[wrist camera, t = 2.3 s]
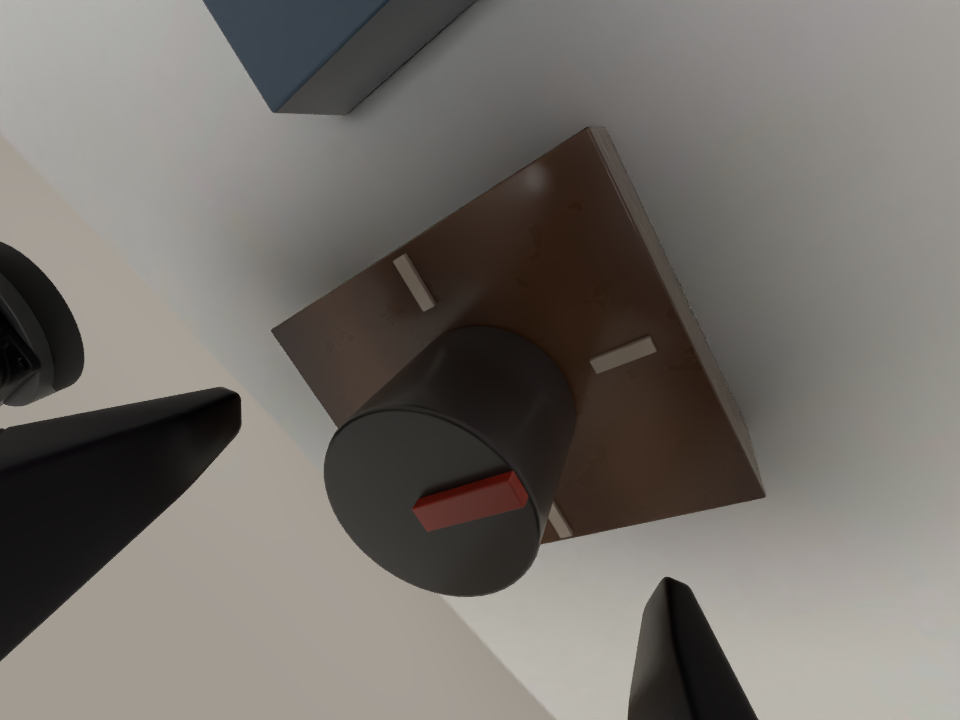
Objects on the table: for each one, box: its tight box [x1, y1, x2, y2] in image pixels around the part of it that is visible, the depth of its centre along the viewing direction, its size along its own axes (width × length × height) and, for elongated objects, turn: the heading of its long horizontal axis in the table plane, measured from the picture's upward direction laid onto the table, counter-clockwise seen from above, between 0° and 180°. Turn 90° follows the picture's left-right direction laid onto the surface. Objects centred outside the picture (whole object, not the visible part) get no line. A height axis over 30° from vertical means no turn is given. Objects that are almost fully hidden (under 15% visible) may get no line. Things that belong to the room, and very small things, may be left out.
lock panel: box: [271, 127, 766, 544], centre depth 14 cm, size 10×9×3 cm
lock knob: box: [324, 326, 576, 597], centre depth 11 cm, size 4×4×4 cm
